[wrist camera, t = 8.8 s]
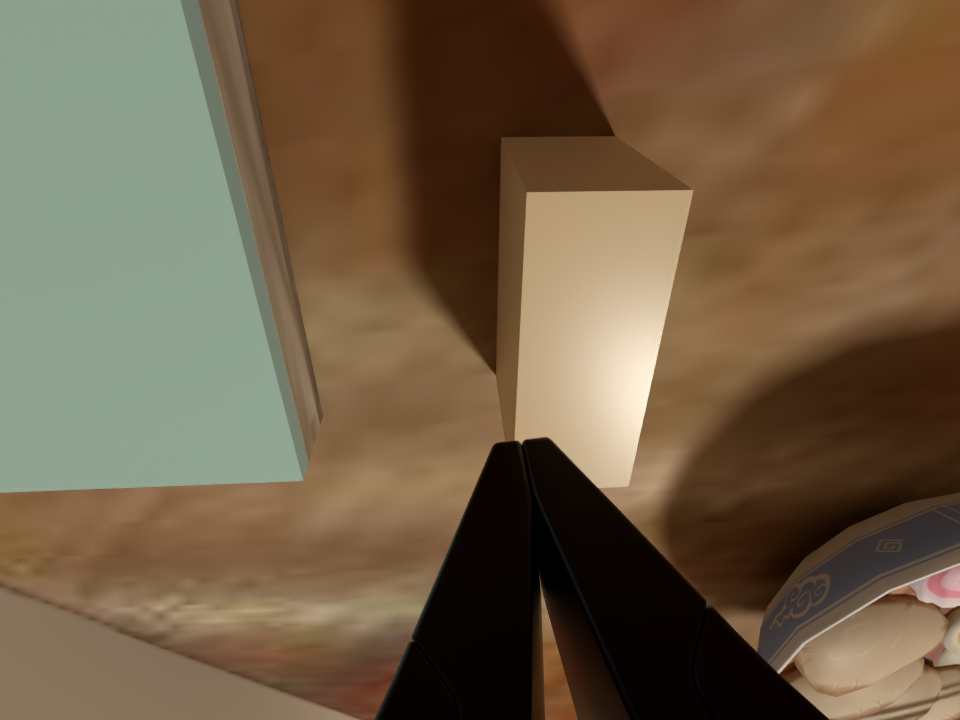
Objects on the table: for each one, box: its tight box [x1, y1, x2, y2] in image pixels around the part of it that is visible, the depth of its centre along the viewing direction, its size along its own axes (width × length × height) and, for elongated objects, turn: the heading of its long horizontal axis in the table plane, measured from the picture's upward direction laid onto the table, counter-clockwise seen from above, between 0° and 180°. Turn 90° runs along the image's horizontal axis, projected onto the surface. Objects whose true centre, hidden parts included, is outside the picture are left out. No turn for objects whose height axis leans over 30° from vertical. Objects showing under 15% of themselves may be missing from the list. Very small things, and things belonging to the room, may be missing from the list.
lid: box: [0, 0, 308, 493], centre depth 17 cm, size 13×19×3 cm
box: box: [197, 0, 323, 461], centre depth 18 cm, size 13×18×3 cm
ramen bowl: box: [757, 493, 960, 720], centre depth 29 cm, size 25×23×8 cm
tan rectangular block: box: [496, 136, 693, 488], centre depth 18 cm, size 4×10×7 cm, turn 0°
